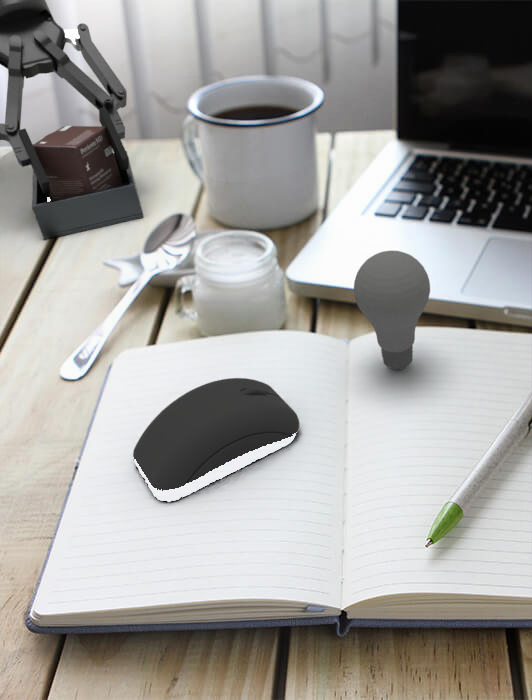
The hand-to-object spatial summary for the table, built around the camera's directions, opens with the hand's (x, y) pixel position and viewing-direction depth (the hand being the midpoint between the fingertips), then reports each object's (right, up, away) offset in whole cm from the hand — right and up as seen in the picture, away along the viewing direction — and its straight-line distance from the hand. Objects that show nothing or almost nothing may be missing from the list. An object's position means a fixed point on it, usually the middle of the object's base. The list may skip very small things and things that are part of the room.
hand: (86, 175), depth 86 cm
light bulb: (+33, -21, -24) cm, 46 cm away
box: (-1, -2, +5) cm, 5 cm away
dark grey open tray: (-1, -3, +5) cm, 6 cm away
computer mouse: (+19, -26, -30) cm, 44 cm away
